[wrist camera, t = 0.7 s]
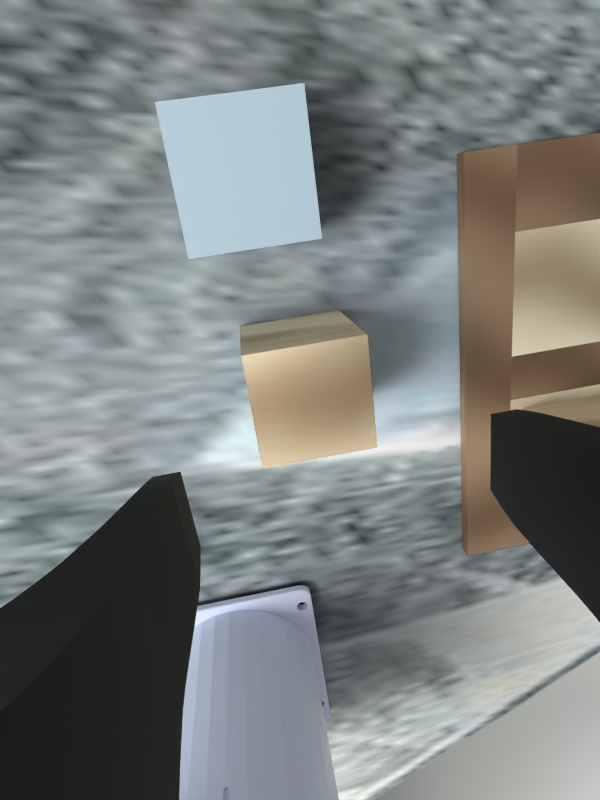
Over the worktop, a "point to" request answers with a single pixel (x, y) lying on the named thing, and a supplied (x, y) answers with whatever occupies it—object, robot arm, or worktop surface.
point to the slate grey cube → (241, 169)
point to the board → (523, 300)
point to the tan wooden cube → (309, 387)
